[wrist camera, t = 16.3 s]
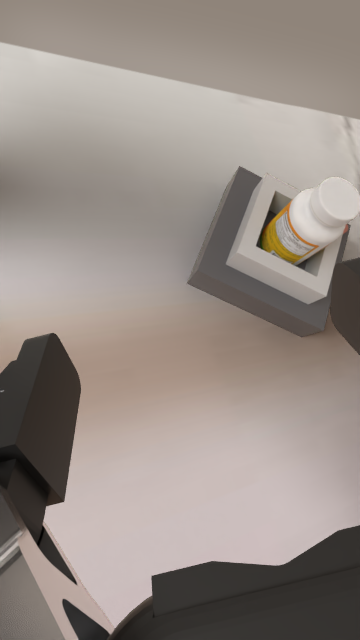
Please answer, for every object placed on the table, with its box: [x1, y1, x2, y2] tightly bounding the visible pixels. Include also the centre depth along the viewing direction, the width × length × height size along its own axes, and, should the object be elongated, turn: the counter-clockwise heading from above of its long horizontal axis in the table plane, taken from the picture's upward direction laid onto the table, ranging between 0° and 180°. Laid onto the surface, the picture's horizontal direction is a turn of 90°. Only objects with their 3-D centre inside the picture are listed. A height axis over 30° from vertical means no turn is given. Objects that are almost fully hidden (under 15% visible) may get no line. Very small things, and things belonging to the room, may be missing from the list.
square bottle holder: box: [187, 166, 351, 337], centre depth 37 cm, size 15×14×7 cm
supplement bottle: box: [258, 177, 360, 266], centre depth 32 cm, size 5×5×10 cm
